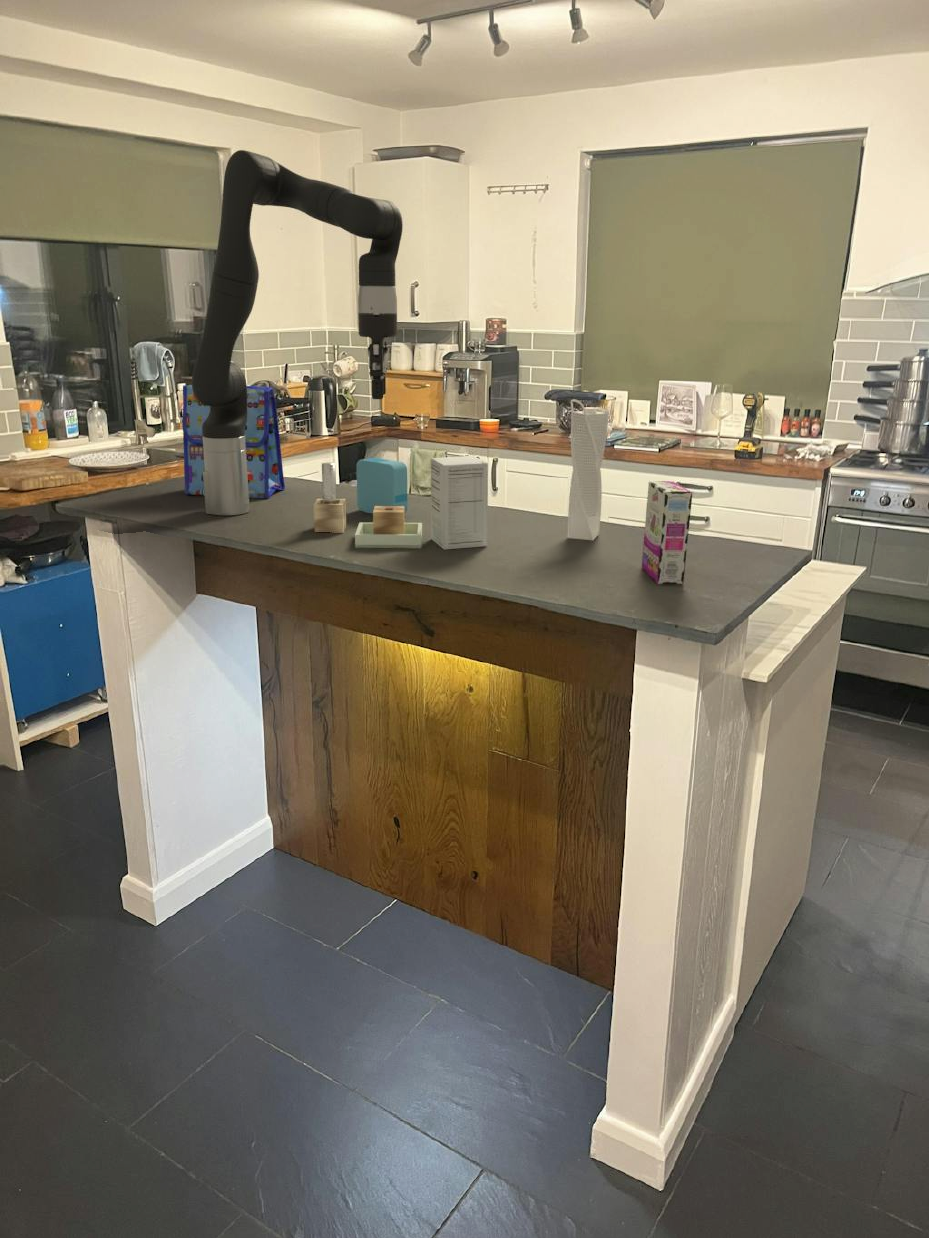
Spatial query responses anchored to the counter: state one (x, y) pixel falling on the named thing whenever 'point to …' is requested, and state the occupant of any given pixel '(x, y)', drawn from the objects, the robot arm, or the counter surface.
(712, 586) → the counter surface
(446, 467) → the supplement box
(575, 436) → the skyscraper
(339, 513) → the beech block wide bore
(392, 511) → the oak block narrow bore
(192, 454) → the lunch bag
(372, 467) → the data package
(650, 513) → the candy bar box
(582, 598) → the counter surface
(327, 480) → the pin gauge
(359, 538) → the tray
